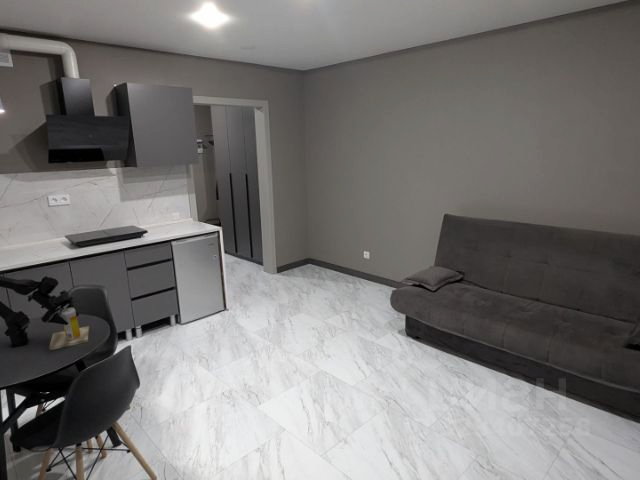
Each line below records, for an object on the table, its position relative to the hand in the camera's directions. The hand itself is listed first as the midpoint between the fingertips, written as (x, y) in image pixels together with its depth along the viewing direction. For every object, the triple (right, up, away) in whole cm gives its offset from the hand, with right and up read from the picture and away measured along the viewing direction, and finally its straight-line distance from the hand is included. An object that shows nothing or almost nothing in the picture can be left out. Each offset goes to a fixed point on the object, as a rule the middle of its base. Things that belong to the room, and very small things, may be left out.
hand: (73, 319), depth 197 cm
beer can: (-1, -9, +3) cm, 10 cm away
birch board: (-4, -10, +5) cm, 12 cm away
